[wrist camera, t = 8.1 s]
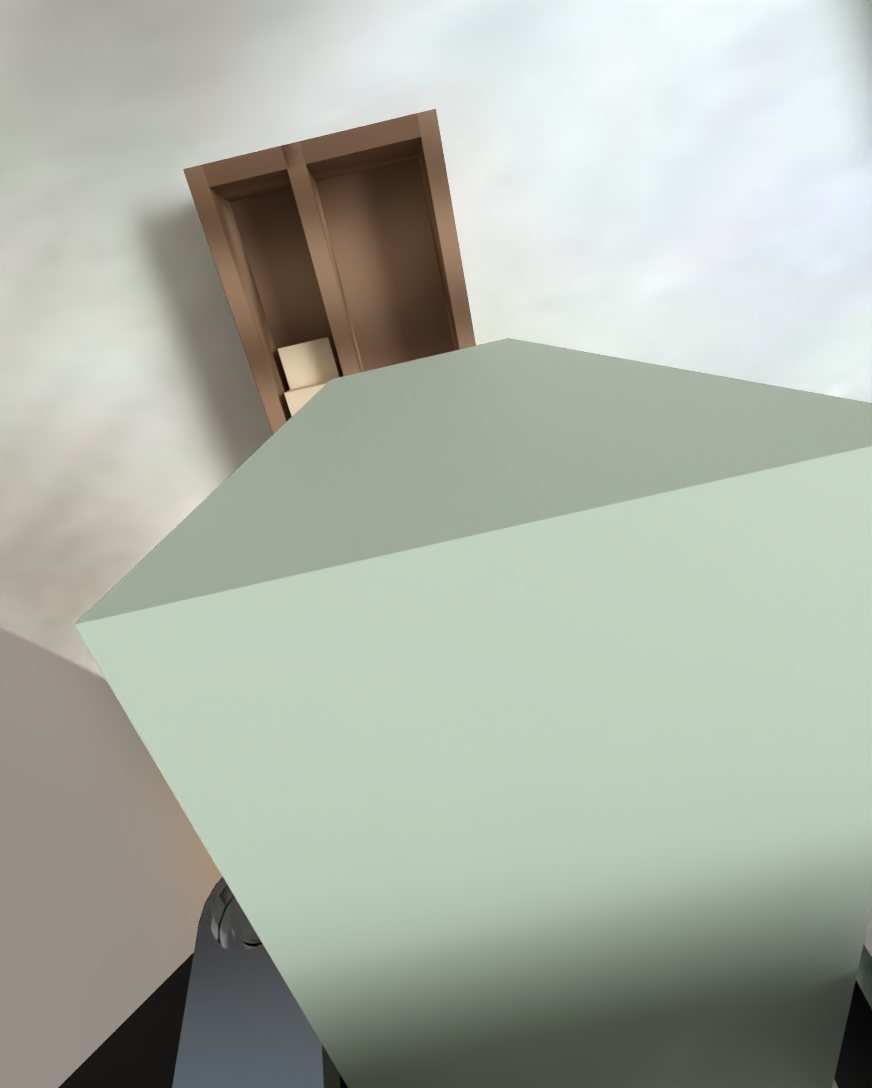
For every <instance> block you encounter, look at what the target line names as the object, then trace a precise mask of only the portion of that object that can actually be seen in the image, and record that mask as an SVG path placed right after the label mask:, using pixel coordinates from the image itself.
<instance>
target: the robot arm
mask: <svg viewBox="0 0 872 1088" xmlns="http://www.w3.org/2000/svg"><path fill="white" fill-rule="evenodd" d="M59 1088H348V1087H347V1085H346V1083H345V1082H344V1080H343V1078H342V1077H341V1075H340V1073H339V1072H338V1070H337V1068H336V1067H335V1065H334V1063H333V1061H332V1060H331V1058H330V1056H329V1055H328V1053H327V1051H326V1050H325V1048H324V1046H323V1045H322V1043H321V1041H320V1040H319V1038H318V1036H317V1034H316V1033H315V1031H314V1029H313V1028H312V1026H311V1024H310V1023H309V1021H308V1019H307V1018H306V1016H305V1014H304V1013H303V1011H302V1009H301V1008H300V1006H299V1004H298V1002H297V1001H296V999H295V997H294V996H293V994H292V992H291V991H290V989H289V987H288V986H287V984H286V982H285V981H284V979H283V977H282V975H281V974H280V972H279V970H278V969H277V967H276V965H275V964H274V962H273V960H272V959H271V957H270V955H269V954H268V952H267V950H266V948H265V947H264V945H263V943H262V942H261V940H260V938H259V937H258V935H257V933H256V932H255V930H254V928H253V927H252V925H251V923H250V922H249V920H248V918H247V916H246V915H245V913H244V911H243V910H242V908H241V906H240V905H239V903H238V901H237V900H236V898H235V896H234V895H233V893H232V891H231V889H230V888H229V886H228V884H227V883H226V881H225V879H224V878H223V876H222V878H221V879H220V880H219V881H218V882H217V883H216V885H215V886H214V888H213V890H212V891H211V893H210V895H209V897H208V898H207V900H206V902H205V904H204V907H203V910H202V913H201V917H200V920H199V924H198V931H197V937H196V942H195V949H194V953H193V954H192V955H191V956H190V957H189V958H188V959H187V960H186V961H185V962H184V963H183V964H182V965H181V966H180V967H179V968H178V969H177V970H176V971H175V972H174V973H173V974H172V975H171V976H170V977H169V978H168V979H167V980H166V981H165V982H164V983H163V984H162V985H161V986H160V987H159V988H158V989H157V990H156V991H155V992H154V993H153V994H152V995H151V996H150V997H149V998H148V999H147V1000H146V1001H145V1002H144V1003H143V1004H142V1005H141V1006H140V1007H139V1008H138V1009H137V1010H136V1011H135V1012H134V1013H133V1014H132V1015H131V1016H130V1017H129V1018H128V1019H127V1020H126V1021H125V1022H124V1023H123V1024H122V1025H121V1026H120V1027H119V1028H118V1029H117V1030H116V1031H115V1032H114V1033H113V1034H112V1035H111V1036H110V1037H109V1038H108V1039H107V1040H106V1041H105V1042H104V1043H103V1044H102V1045H101V1046H100V1047H99V1048H98V1049H97V1050H96V1051H95V1052H94V1053H93V1054H92V1055H91V1056H90V1057H89V1058H88V1059H87V1060H86V1061H85V1062H84V1063H83V1064H82V1065H81V1066H80V1067H79V1068H78V1069H77V1070H76V1071H75V1072H74V1073H73V1074H72V1075H71V1076H70V1077H69V1078H68V1079H67V1080H66V1081H65V1082H64V1083H63V1084H62V1085H61V1086H60V1087H59ZM832 1088H872V908H871V913H870V917H869V922H868V926H867V931H866V936H865V940H864V945H863V949H862V954H861V958H860V963H859V968H858V972H857V977H856V981H855V986H854V990H853V995H852V999H851V1004H850V1009H849V1013H848V1018H847V1022H846V1027H845V1031H844V1036H843V1040H842V1045H841V1050H840V1054H839V1059H838V1063H837V1068H836V1072H835V1077H834V1081H833V1086H832Z"/></svg>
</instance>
